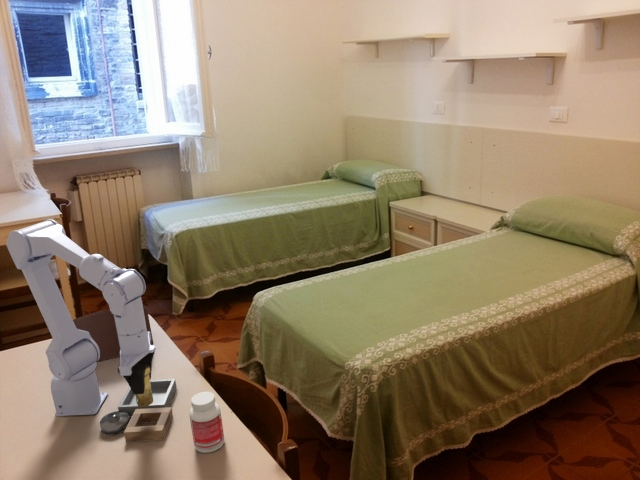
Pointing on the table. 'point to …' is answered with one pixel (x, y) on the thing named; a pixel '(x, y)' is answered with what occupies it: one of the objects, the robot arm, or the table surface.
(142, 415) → the block
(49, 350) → the robot arm
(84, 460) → the table surface
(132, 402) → the tray
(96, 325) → the letter holder
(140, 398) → the lock pin
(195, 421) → the pill bottle
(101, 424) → the pulley
